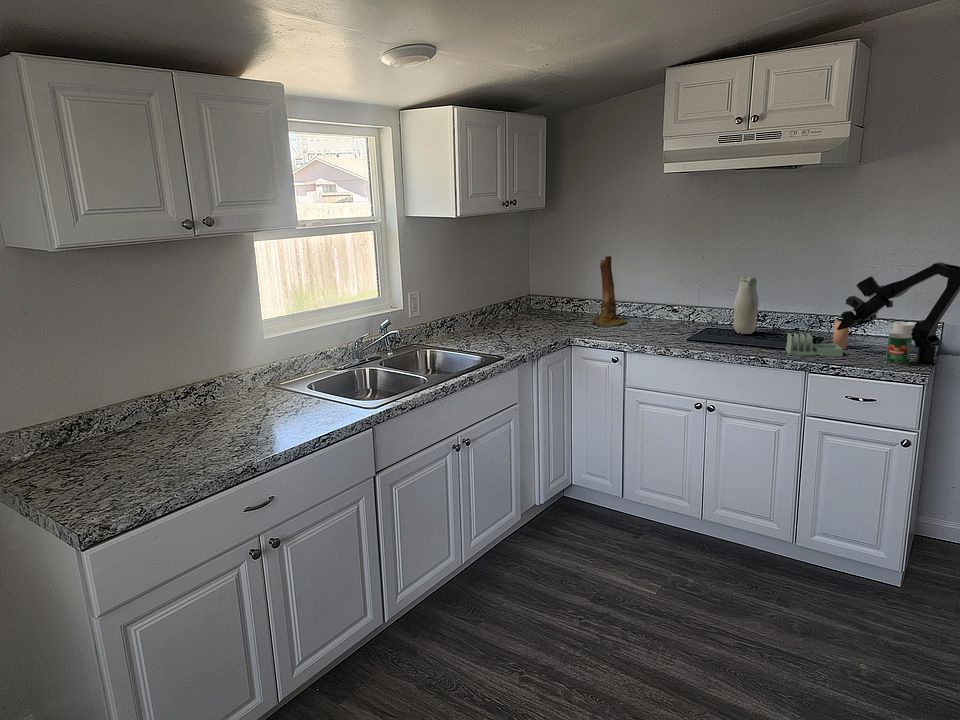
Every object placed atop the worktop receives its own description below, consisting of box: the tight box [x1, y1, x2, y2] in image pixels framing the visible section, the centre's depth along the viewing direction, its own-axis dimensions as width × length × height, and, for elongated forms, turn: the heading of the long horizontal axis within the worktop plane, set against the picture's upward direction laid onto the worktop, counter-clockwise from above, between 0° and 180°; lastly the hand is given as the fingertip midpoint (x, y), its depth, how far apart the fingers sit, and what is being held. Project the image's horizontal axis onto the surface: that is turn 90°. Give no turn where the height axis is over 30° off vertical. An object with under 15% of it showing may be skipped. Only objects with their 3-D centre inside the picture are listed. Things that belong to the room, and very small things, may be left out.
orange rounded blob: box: [832, 320, 850, 350], centre depth 294 cm, size 6×6×11 cm
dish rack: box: [785, 332, 844, 357], centre depth 286 cm, size 10×20×8 cm, turn 76°
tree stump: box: [592, 255, 628, 327], centre depth 359 cm, size 20×16×35 cm
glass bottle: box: [732, 274, 759, 335], centre depth 324 cm, size 10×10×28 cm
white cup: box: [892, 321, 916, 336], centre depth 293 cm, size 8×8×10 cm
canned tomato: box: [885, 333, 913, 367], centre depth 266 cm, size 8×8×11 cm
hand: (843, 328), depth 293 cm, fingers open, 9 cm apart
